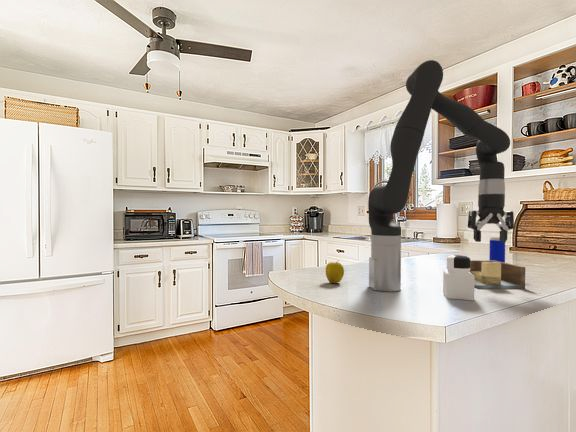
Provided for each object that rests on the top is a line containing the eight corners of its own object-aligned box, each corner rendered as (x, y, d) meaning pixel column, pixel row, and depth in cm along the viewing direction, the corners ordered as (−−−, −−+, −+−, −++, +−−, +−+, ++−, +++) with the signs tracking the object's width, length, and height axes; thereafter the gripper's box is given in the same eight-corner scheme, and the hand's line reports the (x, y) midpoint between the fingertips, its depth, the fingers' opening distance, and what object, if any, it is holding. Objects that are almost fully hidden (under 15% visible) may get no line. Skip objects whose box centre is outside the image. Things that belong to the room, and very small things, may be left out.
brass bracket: (468, 278, 115) (468, 258, 115) (481, 278, 116) (481, 258, 116) (486, 284, 105) (486, 262, 105) (500, 284, 106) (501, 263, 106)
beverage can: (500, 274, 129) (500, 237, 129) (507, 276, 124) (508, 238, 124) (486, 274, 129) (487, 237, 129) (493, 276, 124) (494, 238, 124)
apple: (345, 285, 107) (345, 261, 107) (326, 285, 107) (326, 261, 107) (342, 281, 114) (342, 258, 114) (324, 281, 114) (324, 258, 114)
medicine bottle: (469, 294, 96) (469, 254, 96) (474, 301, 89) (475, 258, 89) (442, 292, 98) (443, 253, 98) (446, 298, 91) (446, 256, 91)
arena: (476, 288, 104) (477, 267, 104) (451, 279, 119) (452, 260, 119) (525, 288, 104) (525, 267, 104) (494, 279, 119) (494, 260, 119)
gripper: (504, 194, 111) (503, 241, 111) (463, 193, 111) (462, 240, 111) (520, 193, 104) (519, 243, 104) (477, 192, 103) (476, 242, 103)
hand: (490, 241), depth 107 cm, fingers open, 8 cm apart
